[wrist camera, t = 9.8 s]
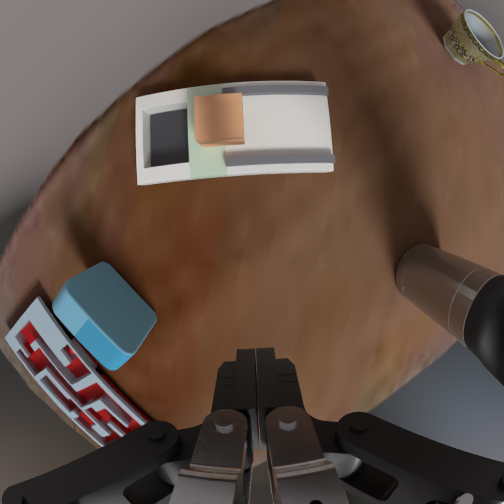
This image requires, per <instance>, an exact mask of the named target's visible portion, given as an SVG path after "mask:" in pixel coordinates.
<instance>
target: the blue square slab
mask: <svg viewBox="0 0 504 504" xmlns="http://www.w3.org/2000/svg"><path fill="white" fill-rule="evenodd" d="M52 308H53V311H54V313H55V315H56V316H57V317H58V318H59V319H60V320H61V322H62V323H63V324H64V325H65V326H66V327H67V329H68V330H69V331H70V332H71V333H72V334H73V335H74V336H75V337H76V338H77V339H78V341H79V342H80V343H81V344H82V345H83V346H84V347H85V348H86V349H87V350H88V351H89V352H90V353H91V354H92V355H93V356H94V357H95V358H96V359H97V360H98V361H99V362H100V363H101V364H102V365H103V366H105V367H106V368H107V369H110V370H117V369H118V368H119V367H121V366H122V365H123V364H124V363H125V362H126V361H127V360H128V359H129V358H131V357H132V356H133V355H134V354H135V353H136V351H137V350H138V348H139V347H140V345H141V344H142V342H143V341H144V339H145V338H146V336H147V335H148V333H149V332H150V330H151V329H152V327H153V326H154V324H155V323H156V321H157V316H156V314H155V312H154V311H153V309H152V308H151V307H150V306H149V305H148V304H147V303H146V302H145V301H144V300H143V299H142V298H141V297H140V296H139V295H138V294H137V293H136V292H135V291H134V290H133V289H132V288H131V287H130V286H129V285H128V284H127V282H126V281H125V280H124V279H123V278H122V277H121V276H120V275H119V274H118V273H117V271H116V270H115V269H114V268H113V267H112V266H111V265H110V264H108V263H106V262H100V263H98V264H96V265H94V266H93V267H91V268H89V269H87V270H85V271H83V272H82V273H80V274H78V275H76V276H75V277H73V278H71V279H69V280H68V281H66V282H65V284H64V286H63V287H62V289H61V290H60V292H59V293H58V295H57V296H56V298H55V300H54V301H53V304H52Z"/></svg>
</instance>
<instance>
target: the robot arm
mask: <svg viewBox="0 0 504 504" xmlns="http://www.w3.org/2000/svg"><path fill="white" fill-rule="evenodd" d="M396 285H397V288H398V290H399V292H400V293H401V294H402V295H403V296H404V297H405V298H407V299H408V300H409V301H410V302H412V303H413V304H414V305H415V306H417V307H418V308H419V309H420V310H422V311H423V312H424V313H425V314H427V315H428V316H429V317H430V318H432V319H433V320H434V321H435V322H437V323H438V324H439V325H440V326H441V327H443V328H444V329H445V330H446V331H448V332H449V333H450V334H451V335H452V336H454V337H455V338H456V339H457V340H458V341H460V342H461V343H462V344H463V345H464V346H466V347H467V348H468V349H469V350H470V351H471V352H473V353H474V354H475V356H476V357H477V358H478V359H479V360H480V361H481V362H482V364H483V365H484V366H485V368H486V369H487V370H488V371H489V372H490V373H491V374H492V375H493V376H494V377H495V378H496V379H497V380H498V381H499V382H500V383H501V384H502V385H503V386H504V275H502V274H499V273H497V272H495V271H492V270H490V269H488V268H485V267H483V266H480V265H478V264H476V263H473V262H471V261H469V260H466V259H464V258H461V257H459V256H456V255H454V254H451V253H449V252H446V251H444V250H441V249H439V248H436V247H433V246H431V245H428V244H417V245H414V246H413V247H411V248H409V249H408V250H407V251H406V252H405V253H404V255H403V256H402V258H401V259H400V261H399V264H398V266H397V270H396ZM256 356H257V374H256V359H255V349H237V355H236V361H230V362H224V363H223V364H222V365H221V367H220V368H219V369H218V374H217V379H216V386H215V391H214V397H213V403H212V409H211V413H210V414H208V415H207V416H206V417H205V418H204V420H203V423H202V424H200V425H198V426H195V427H192V428H186V429H181V430H177V429H176V427H175V426H174V425H172V424H171V423H168V422H165V421H151V422H148V423H146V424H144V425H142V426H140V427H138V428H137V429H135V430H133V431H131V432H130V433H128V434H126V435H124V436H122V437H120V438H119V439H117V440H115V441H113V442H111V443H109V444H107V445H105V446H103V447H101V448H99V449H97V450H95V451H93V452H91V453H89V454H87V455H85V456H83V457H81V458H79V459H77V460H75V461H72V462H70V463H68V464H66V465H63V466H61V467H59V468H57V469H54V470H52V471H49V472H47V473H45V474H42V475H40V476H37V477H34V478H32V479H29V480H27V481H24V482H21V483H18V484H15V485H12V486H10V487H8V488H7V489H6V490H5V491H4V493H3V496H2V504H168V503H169V504H249V496H250V487H251V477H252V464H253V450H259V426H260V440H261V450H264V449H267V463H268V472H269V478H270V484H271V490H272V496H273V502H274V504H349V503H348V500H347V497H346V495H345V492H344V490H346V491H347V492H349V493H351V494H353V495H355V496H356V497H358V498H360V499H362V500H364V501H366V502H368V503H370V504H504V462H500V461H496V460H492V459H489V458H485V457H482V456H478V455H475V454H472V453H469V452H465V451H462V450H459V449H456V448H453V447H450V446H447V445H445V444H442V443H439V442H436V441H434V440H431V439H428V438H426V437H423V436H421V435H418V434H415V433H413V432H411V431H408V430H406V429H403V428H401V427H399V426H396V425H394V424H392V423H389V422H387V421H385V420H382V419H380V418H378V417H376V416H374V415H371V414H369V413H365V412H353V413H349V414H347V415H345V416H343V417H342V418H341V419H340V420H339V421H338V422H330V421H322V420H318V419H315V418H313V417H312V416H310V415H309V414H308V413H307V412H306V410H305V408H304V404H303V400H302V395H301V391H300V387H299V382H298V378H297V375H296V370H295V365H294V364H293V363H292V362H291V361H290V360H289V359H288V358H284V359H275V352H274V347H273V348H257V349H256ZM257 386H258V392H257ZM258 412H259V423H258Z"/></svg>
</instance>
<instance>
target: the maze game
mask: <svg viewBox="0 0 504 504" xmlns="http://www.w3.org/2000/svg"><path fill="white" fill-rule="evenodd" d="M5 339H6V340H7V342H8V343H9V345H10V346H11V348H12V349H13V351H14V352H15V354H16V355H17V356H18V358H19V359H20V360H21V362H22V363H23V365H24V366H25V367H26V368H27V370H28V371H29V372H30V374H31V375H32V376H33V377H34V379H35V380H36V381H37V382H38V383H39V385H40V386H41V387H42V388H43V389H44V391H45V392H46V393H47V394H48V395H49V396H50V397H51V398H52V400H53V401H54V402H55V403H56V404H57V405H58V406H59V407H60V408H61V409H62V410H63V411H64V412H65V413H66V414H67V415H68V416H69V417H70V418H71V419H72V420H73V421H74V422H75V423H76V424H77V425H78V426H79V427H80V428H81V429H82V430H83V431H84V432H86V433H87V434H88V435H89V436H90V437H91V438H92V439H93V440H95V441H96V442H97V443H98V444H99V445H100V446H102V447H103V446H105V445H107V444H109V443H111V442H113V441H115V440H117V439H119V438H120V437H122V436H124V435H126V434H128V433H130V432H131V431H133V430H135V429H137V428H138V427H140V426H142V425H144V424H146V423H148V422H151V421H150V420H149V419H148V418H147V417H146V416H145V415H144V414H143V413H141V412H140V411H139V410H138V409H137V408H136V407H135V406H134V405H133V404H132V403H131V402H130V401H129V400H128V399H127V398H126V397H125V396H124V395H123V394H122V393H121V392H120V391H119V390H118V389H117V388H116V387H115V386H114V385H113V384H112V383H111V382H110V381H109V380H108V379H107V378H106V377H105V376H104V374H101V375H99V374H98V372H97V371H96V370H95V369H96V368H97V366H98V364H97V363H96V362H95V360H94V359H93V358H92V357H91V356H90V355H89V353H88V352H87V351H86V350H85V348H84V347H83V346H82V345H81V343H80V342H79V341H78V340H77V338H76V337H75V338H73V339H72V340H70V339H69V337H68V336H67V335H66V333H65V332H64V331H63V329H62V328H61V327H60V325H59V324H58V322H57V321H56V320H55V318H54V317H53V315H52V314H51V312H50V311H49V309H48V308H47V306H46V305H45V303H44V302H43V300H42V299H41V297H40V296H39V297H37V298H36V299H35V300H34V302H33V303H32V304H31V305H30V306H29V308H28V309H27V310H26V311H25V312H24V314H23V315H22V316H21V317H20V319H19V320H18V321H17V323H16V324H15V325H14V326H13V328H12V329H11V330H10V332H9V333H8V334H7V336H6V337H5Z"/></svg>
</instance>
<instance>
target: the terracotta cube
mask: <svg viewBox="0 0 504 504" xmlns="http://www.w3.org/2000/svg"><path fill="white" fill-rule="evenodd" d="M194 116H195V141H196V142H198V143H199V144H200V145H201V146H202V147H214V146H226V145H242V144H245V142H244V121H243V103H242V93H229V94H217V95H206V96H198V97H194Z"/></svg>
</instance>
